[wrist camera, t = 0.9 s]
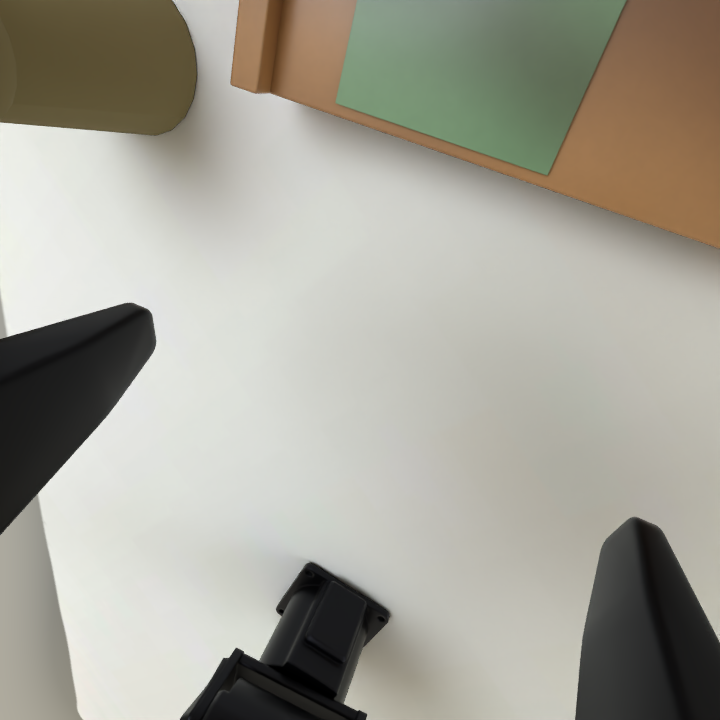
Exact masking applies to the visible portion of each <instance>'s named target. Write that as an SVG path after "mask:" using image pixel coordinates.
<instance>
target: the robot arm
mask: <svg viewBox="0 0 720 720" xmlns="http://www.w3.org/2000/svg"><path fill="white" fill-rule="evenodd" d="M155 346H156V336H155V330H154V323H153V317H152V314H151V312H150V311H149V310H148V309H146V308H144V307H141V306H139V305H136V304H134V303H124V304H121V305H117V306H114V307H110V308H107V309H103V310H100V311H96V312H93V313H89V314H86V315H83V316H79V317H76V318H72V319H69V320H65V321H62V322H58V323H55V324H51V325H48V326H44V327H41V328H37V329H34V330H30V331H27V332H23V333H20V334H16V335H13V336H9V337H6V338H3V339H0V535H1V534H2V532H4V530H5V529H6V528H7V527H8V526H9V525H10V524H11V523H12V522H13V520H14V519H15V518H16V517H17V516H18V515H19V514H20V513H21V512H22V510H23V509H24V508H25V507H26V506H27V505H28V504H29V502H30V501H31V500H32V499H33V498H34V497H35V496H36V495H37V494H38V493H39V491H40V490H41V489H42V488H43V487H44V486H45V485H46V484H47V483H48V481H49V480H50V479H51V478H52V477H53V476H54V475H55V474H56V473H57V471H58V470H59V469H60V468H61V467H62V466H63V465H64V464H65V463H66V461H67V460H68V459H69V458H70V457H71V456H72V455H73V454H74V452H75V451H76V450H77V449H78V448H79V447H80V446H81V445H82V444H83V442H84V441H85V440H86V439H87V438H88V437H89V436H90V435H91V434H92V432H93V431H94V430H95V429H96V428H97V427H98V426H99V425H100V423H101V422H102V421H103V420H104V419H105V418H106V416H107V415H108V414H109V413H110V412H111V410H112V409H113V408H114V406H115V405H116V404H117V402H118V401H119V400H120V398H121V397H122V395H123V394H124V393H125V391H126V390H127V388H128V387H129V386H130V384H131V383H132V381H133V380H134V379H135V377H136V376H137V374H138V373H139V372H140V370H141V369H142V368H143V366H144V365H145V363H146V362H147V361H148V359H149V358H150V356H151V355H152V353H153V352H154V349H155ZM276 611H277V613H278V614H280V615H281V616H282V617H281V619H280V621H279V623H278V625H277V627H276V629H275V631H274V633H273V635H272V637H271V639H270V641H269V643H268V644H267V646H266V648H265V650H264V652H263V654H262V656H261V658H260V660H259V661H258V660H256V659H254V658H252V657H250V656H248V655H246V654H244V651H242V650H240V649H238V648H236V649H235V650H234V651H233V653H232V655H231V656H230V658H223V660H222V661H221V663H220V665H219V667H218V668H217V670H216V672H215V674H214V675H213V677H212V679H211V680H210V682H209V683H208V685H207V686H206V687H205V689H204V690H203V691H202V692H201V694H200V695H199V696H198V697H197V698H196V700H195V701H194V702H193V703H192V704H191V706H190V707H189V708H188V709H187V710H186V712H185V713H184V714H183V715H182V717H181V719H180V720H366V717H367V714H366V713H364V712H362V711H360V710H358V711H356V710H354V709H352V708H350V707H348V706H346V705H344V701H345V698H346V695H347V692H348V689H349V686H350V683H351V680H352V678H353V675H354V672H355V669H356V666H357V663H358V660H359V657H360V654H361V651H362V648H363V647H364V646H365V645H366V644H367V643H368V642H369V641H370V640H371V639H372V638H373V637H374V636H375V635H376V634H377V633H378V632H379V631H380V630H381V629H382V628H383V627H384V626H385V625H386V624H387V623H388V620H389V617H390V614H389V612H388V611H386V610H385V609H383V608H382V607H380V606H379V605H377V604H376V603H374V602H372V601H371V600H369V599H368V598H366V597H364V596H363V595H361V594H360V593H358V592H356V591H355V590H353V589H352V588H350V587H348V586H347V585H345V584H344V583H342V582H341V581H339V580H337V579H336V578H334V577H333V576H331V575H329V574H328V573H326V572H325V571H323V570H321V569H320V568H318V567H317V566H315V565H313V564H310V563H308V564H306V565H305V566H304V568H303V569H302V571H301V572H300V573H299V575H298V576H297V578H296V579H295V581H294V582H293V584H292V585H291V586H290V588H289V589H288V591H287V592H286V594H285V595H284V597H283V598H282V599H281V601H280V602H279V604H278V606H277V608H276ZM575 720H720V642H719V640H718V638H717V636H716V634H715V632H714V630H713V628H712V626H711V625H710V623H709V621H708V619H707V617H706V615H705V613H704V611H703V609H702V607H701V605H700V603H699V601H698V599H697V597H696V595H695V593H694V591H693V589H692V587H691V585H690V584H689V582H688V580H687V578H686V576H685V574H684V572H683V570H682V568H681V566H680V564H679V562H678V560H677V558H676V556H675V554H674V552H673V550H672V548H671V546H670V544H669V543H668V541H667V539H666V537H665V535H664V533H663V531H662V530H661V529H660V528H659V527H658V526H656V525H654V524H652V523H649V522H647V521H645V520H642V519H640V518H637V517H632V518H629V519H628V520H627V521H626V522H624V523H623V524H622V525H621V526H620V527H619V528H618V529H617V530H616V531H614V532H613V533H612V534H611V535H610V536H609V537H608V538H607V539H606V540H605V542H604V544H603V546H602V548H601V552H600V556H599V561H598V566H597V570H596V575H595V580H594V585H593V589H592V594H591V599H590V604H589V608H588V613H587V618H586V622H585V628H584V633H583V640H582V648H581V658H580V670H579V682H578V693H577V705H576V716H575Z"/></svg>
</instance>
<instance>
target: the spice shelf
mask: <svg viewBox="0 0 720 720" xmlns="http://www.w3.org/2000/svg"><path fill="white" fill-rule="evenodd" d="M231 85H232V86H235V87H238V88H241V89H244V90H247V91H249V92H252V93H255V94H259V93H271V94H274V95H277V96H279V97H282V98H285V99H288V100H291V101H294V102H297V103H300V104H303V105H305V106H308V107H311V108H314V109H317V110H320V111H323V112H326V113H329V114H332V115H334V116H337V117H340V118H343V119H346V120H349V121H352V122H355V123H358V124H360V125H363V126H366V127H369V128H372V129H375V130H378V131H381V132H384V133H386V134H389V135H392V136H395V137H398V138H401V139H404V140H407V141H410V142H412V143H415V144H418V145H421V146H424V147H427V148H430V149H433V150H436V151H439V152H441V153H444V154H447V155H450V156H453V157H456V158H459V159H462V160H465V161H467V162H470V163H473V164H476V165H479V166H482V167H485V168H488V169H491V170H493V171H496V172H499V173H502V174H505V175H508V176H511V177H514V178H517V179H519V180H522V181H525V182H528V183H531V184H534V185H537V186H540V187H543V188H545V189H548V190H551V191H554V192H557V193H560V194H563V195H566V196H569V197H572V198H574V199H577V200H580V201H583V202H586V203H589V204H592V205H595V206H598V207H600V208H603V209H606V210H609V211H612V212H615V213H618V214H621V215H624V216H626V217H629V218H632V219H635V220H638V221H641V222H644V223H647V224H650V225H652V226H655V227H658V228H661V229H664V230H667V231H670V232H673V233H676V234H678V235H681V236H684V237H687V238H690V239H693V240H696V241H699V242H702V243H705V244H707V245H710V246H713V247H716V248H719V249H720V0H239V8H238V18H237V27H236V36H235V45H234V55H233V64H232V73H231Z"/></svg>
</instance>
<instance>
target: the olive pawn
mask: <svg viewBox="0 0 720 720" xmlns="http://www.w3.org/2000/svg"><path fill="white" fill-rule="evenodd" d="M196 78H197V71H196V61H195V51H194V46H193V43H192V40H191V38H190V35H189V32H188V29H187V26H186V23H185V21H184V19H183V18H182V16H181V15H180V13H179V11H178V10H177V8H176V6H175V5H174V3H173V2H172V0H0V122H3V123H14V124H26V125H38V126H50V127H61V128H73V129H85V130H97V131H109V132H120V133H132V134H144V135H159V134H162V133H165V132H167V131H170V130H172V129H173V128H174V127H175V126H176V125H177V124H178V123H180V122H181V121H182V120H183V119H184V118H185V116H186V114H187V112H188V109H189V107H190V105H191V103H192V101H193V99H194V92H195V85H196Z"/></svg>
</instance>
